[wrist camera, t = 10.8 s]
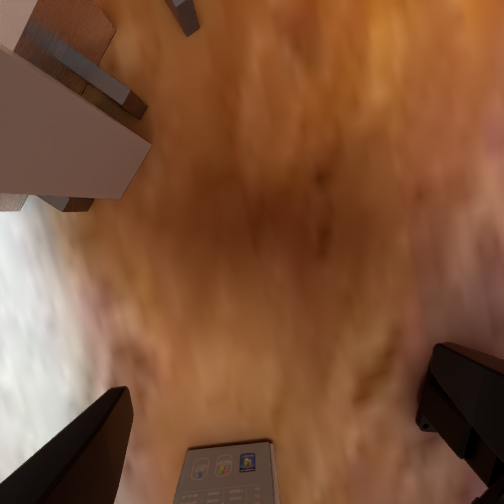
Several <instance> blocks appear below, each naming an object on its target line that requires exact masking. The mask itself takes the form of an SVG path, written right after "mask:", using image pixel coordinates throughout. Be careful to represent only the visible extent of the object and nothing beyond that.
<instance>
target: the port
mask: <svg viewBox="0 0 504 504" xmlns="http://www.w3.org/2000/svg"><path fill="white" fill-rule="evenodd" d="M115 31H116V30H115V28H114V27H113V26H112V24H111V23H110V22H109V20H108V19H107V18H106V16H105V15H104V14H103V12H102V11H101V10H100V8H99V7H98V6H97V5H96V3H95V2H94V1H93V0H0V43H1V44H2V45H4V46H5V47H7V48H8V49H10V50H11V51H13V52H14V53H16V54H17V55H19V56H20V57H22V58H23V59H25V60H27V61H28V62H30V63H31V64H33V65H34V66H36V67H37V68H39V69H40V70H42V71H43V72H45V73H46V74H48V75H49V76H51V77H52V78H54V79H56V80H57V81H59V82H60V83H62V84H63V85H65V86H66V87H68V88H69V89H71V90H72V91H74V92H75V93H77V94H78V95H80V96H81V95H82V93H83V91H84V89H85V87H86V85H87V84H88V83H89V84H91V85H92V86H93V87H95V88H96V89H98V90H99V91H100V92H102V93H103V94H105V95H106V96H107V97H109V98H110V99H112V100H113V101H115V102H116V103H117V104H119V105H120V106H122V107H123V108H124V109H126V110H127V111H129V112H130V113H132V114H133V115H134V116H136V117H137V118H139V119H141V117H142V116H143V114H144V112H145V110H146V109H147V107H148V106H147V105H146V104H145V103H144V102H143V101H142V100H141V99H140V98H139V97H138V96H136V95H135V94H134V93H133V92H132V91H131V90H130V89H129V88H127V87H126V86H125V85H123V84H122V83H120V82H119V81H118V80H116V79H115V78H113V77H112V76H111V75H109V74H108V73H107V72H105V71H104V70H102V69H101V68H100V67H98V66H97V65H98V63H99V61H100V59H101V57H102V56H103V54H104V52H105V50H106V48H107V46H108V44H109V42H110V41H111V39H112V37H113V35H114V33H115ZM27 196H28V195H27V194H9V193H0V212H4V211H20V209H21V207H22V205H23V203H24V201H25V200H26V198H27ZM36 196H38V197H39V198H41V199H42V200H44V201H46V202H47V203H49V204H50V205H52V206H53V207H55V208H56V209H58V210H60V211H61V212H85V211H88V209H89V207H90V206H91V204H92V202H93V199H92V198H80V197H62V196H44V195H36Z"/></svg>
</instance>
